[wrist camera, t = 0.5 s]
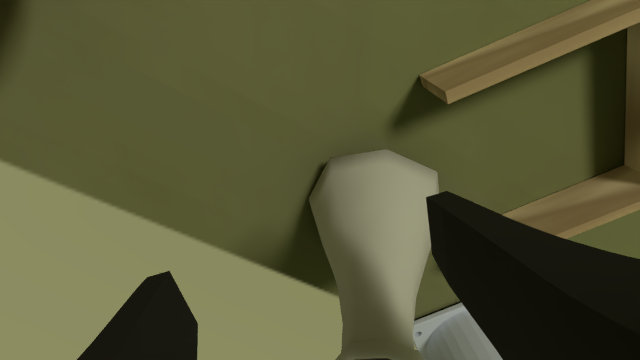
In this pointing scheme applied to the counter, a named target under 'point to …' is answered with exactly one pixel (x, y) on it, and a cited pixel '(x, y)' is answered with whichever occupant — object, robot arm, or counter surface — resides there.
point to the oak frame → (535, 49)
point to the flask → (375, 247)
